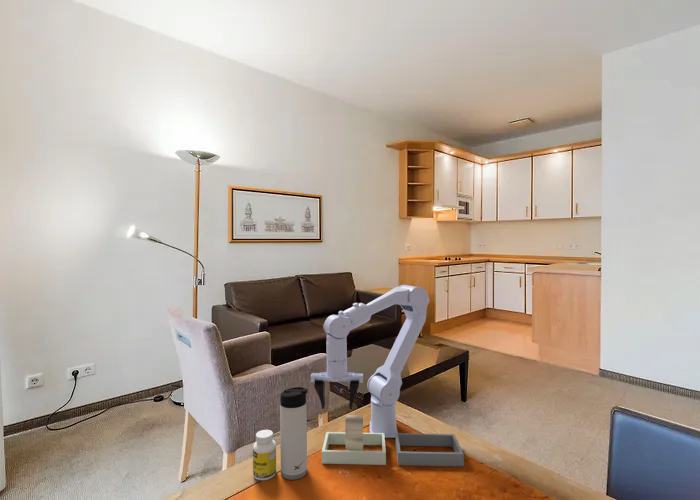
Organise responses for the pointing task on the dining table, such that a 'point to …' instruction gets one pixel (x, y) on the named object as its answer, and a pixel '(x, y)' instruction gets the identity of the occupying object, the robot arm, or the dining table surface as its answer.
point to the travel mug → (293, 433)
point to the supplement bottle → (264, 455)
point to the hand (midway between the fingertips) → (337, 407)
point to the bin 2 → (428, 457)
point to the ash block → (354, 432)
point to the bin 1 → (354, 456)
